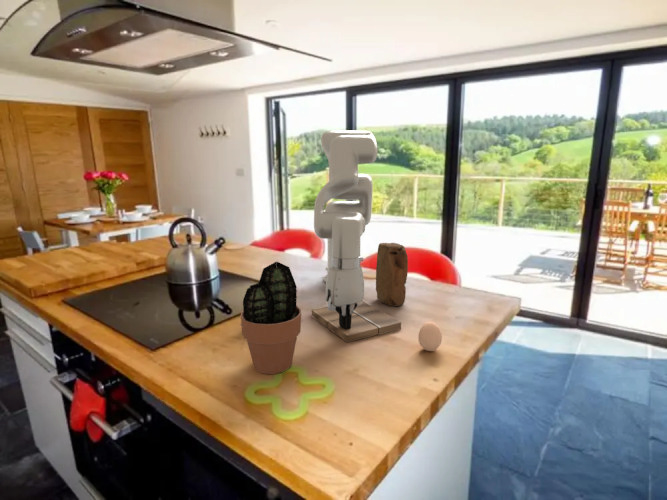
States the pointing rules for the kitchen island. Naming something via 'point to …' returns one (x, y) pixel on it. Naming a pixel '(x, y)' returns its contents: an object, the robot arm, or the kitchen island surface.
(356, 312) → the laid board
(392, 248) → the block
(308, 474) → the kitchen island surface
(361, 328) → the plank
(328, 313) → the plank
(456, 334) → the kitchen island surface
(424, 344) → the egg
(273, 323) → the potted plant
